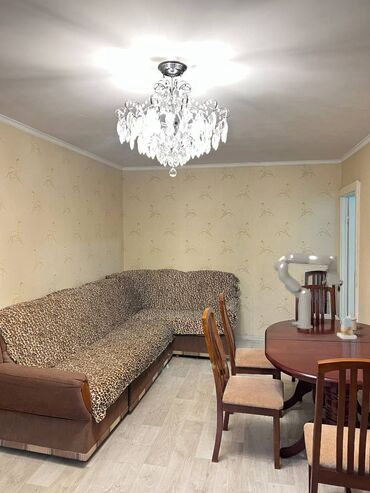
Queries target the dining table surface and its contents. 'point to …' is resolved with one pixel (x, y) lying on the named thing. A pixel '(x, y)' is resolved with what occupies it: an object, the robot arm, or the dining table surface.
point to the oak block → (346, 330)
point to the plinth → (347, 336)
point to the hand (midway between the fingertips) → (332, 291)
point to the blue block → (346, 322)
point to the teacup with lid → (352, 321)
